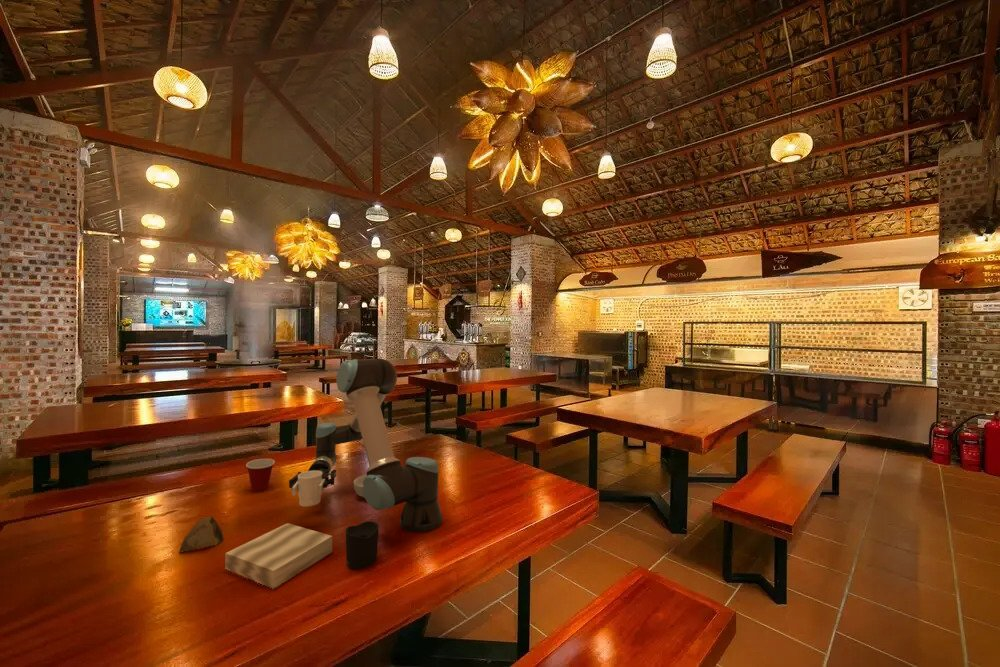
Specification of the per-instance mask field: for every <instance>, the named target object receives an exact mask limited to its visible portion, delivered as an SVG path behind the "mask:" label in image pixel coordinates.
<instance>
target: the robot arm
mask: <svg viewBox="0 0 1000 667" xmlns="http://www.w3.org/2000/svg"><path fill="white" fill-rule="evenodd" d="M396 369H397V368H396V367H395V366H394V364H392V362H390V361H389V360H388V359H384V358H366V359H364V358H363V359H361V358H360V359H357V358H354V359H347V360H344V361H343V362H341V364H340V365H339V366H338V369H337V373H336V387H337V389H338V390H339V392H340V393H343V394H344V393H345V394H346V398H347V399H348V400H349V401H351V402H352V404H353V408H354V414H353V416H352V418H351V420H350V422H349V423H348V424H344V425H339V426H337V425H336V423H333V422H323V423H319V424H318V425H317V426H316V429H315V459H314V461H313V463H312V464H311V465H310V466H309V468H308V470H307V471H321V472H322V481H321V483H320V485H319V494H321V495H322V493H323V490H324V489H326V488H328V486H329V485H330V486H334V485H335V478H336V477H337V469H333V470H332V468H333V467H334V466H335V464H336V462H337V459H338V458H337V453H336V446H338V445H341V444H346V443H351V442H352V443H353V442H356V441H357V442H358V441H361V440H362V442H363V446H364V450H365V455H366V458H367V462H368V467H367V469H366V472H365V474H367V477H366V478H365V479H364V481H363V493H364V496H365V497H364V498H365V500H366V502H367V504H368V505H369V506H370V507H371V508H373V509H374V510H376V511H382V510H385V509H390V508H392V507H394V506H397V505H399V504H403V503H404V505H403V508H402V512H401V514H400V516H399V526H400V528H401V529H402V530H404V531H406V532H409V533H417V534H418V533H427V532H430V531H433V530H436V529H437V528H439V527H440V526H441V525H442V523H443V514H442V511H441V506H440V504H439V496H438V494H439V463H438V461H436V459H433V458H430V457H425V456H414V457H409V458H407V459H406V461H405V465H402V463H401V459H399V458H396V457H395V454H394V451H393V447H392V444H391V440H390V438H389V433H388V429H387V427H386V422H385V419H384V416H383V412H382V408H381V405H382V403H383V402H384V400H385V398H386V397H387V396H388V395H390V394H391V393H392V392H393V391H394V389H395V386H396V385H397V382H398V372H397V370H396ZM301 473H302V471H298V472H297V474H295V476H293V477H292V478H291V479H289V480H288V488H289V489H291V496H292V497H295V496H296V494H297V493H298V475H299V474H301ZM329 476H330V478H329Z"/></svg>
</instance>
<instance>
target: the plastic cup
mask: <svg viewBox="0 0 1000 667" xmlns="http://www.w3.org/2000/svg"><path fill="white" fill-rule="evenodd" d="M275 462H276V461H275V459H272V458H258V459H253V460H250V461H248V462H246V464H245V466H246V468H247V472H248V477H249V484H250V488H251V491H252V492H253V493H261V492H264V491H266V490H268V487H269V484H270V480H271V475H272V470H273V466H274V465H275Z"/></svg>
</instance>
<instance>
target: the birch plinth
mask: <svg viewBox="0 0 1000 667" xmlns="http://www.w3.org/2000/svg"><path fill="white" fill-rule="evenodd" d="M332 552H333V535H329V534H326V533H323V532H320V531H317V530H312V529H309V528H305V527H302V526H299V525H295V524H292V523H290V522H289V523H288V522H287V523H285V524H283V525H281V526H279V527H276V528H274V529H272V530H270V531H269V532H266V533H264V534H261V535H260V536H258V537H256V538H254V539H252V540H250V541H248V542H245V543H243V544H242V545H239V546H237V547H235V548H233V549H232V550H228V551H227V552H225V555H224V556H225V559H224V560H225V562H224V567H225V568H224V569H227V570H229V571H232V572H235V573H237V574H239V575H242V576H244V577H246V578H249V579H251V580H254V581H255V582H257V583H256V584H258V583H260V584H262V585H261V586H263V585H265V586H267V587H266V588H268V587H269V589H271V588H272V589H271V590H275V589H276V588H278V587H279V586H282V585H283V584H284V583H285V582H288V580H290V579H292V578H293V577H296V576H297V575H299V574H300V573H301V572H303V571H305V570H307V569H308V568H310V567H311V566H313V565H314V564H316V563H317V562H319V561H320V560H322V559H324V558H326V557H327V556H328V555H330V554H332ZM296 574H297V575H296ZM255 582H254V583H255ZM282 583H283V584H282ZM260 584H259V585H260ZM265 586H264V587H265ZM274 588H275V589H274Z"/></svg>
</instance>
